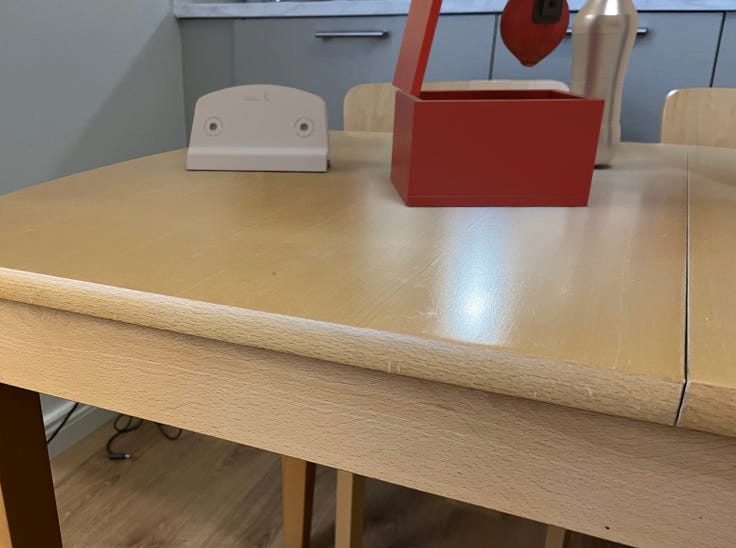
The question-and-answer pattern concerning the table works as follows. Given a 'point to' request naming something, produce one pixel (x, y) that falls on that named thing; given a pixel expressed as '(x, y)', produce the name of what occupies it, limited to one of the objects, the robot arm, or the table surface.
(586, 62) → the silver metal bottle
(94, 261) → the table surface
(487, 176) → the open red box
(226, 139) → the white curved plastic bracket
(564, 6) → the onion
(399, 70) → the box door
